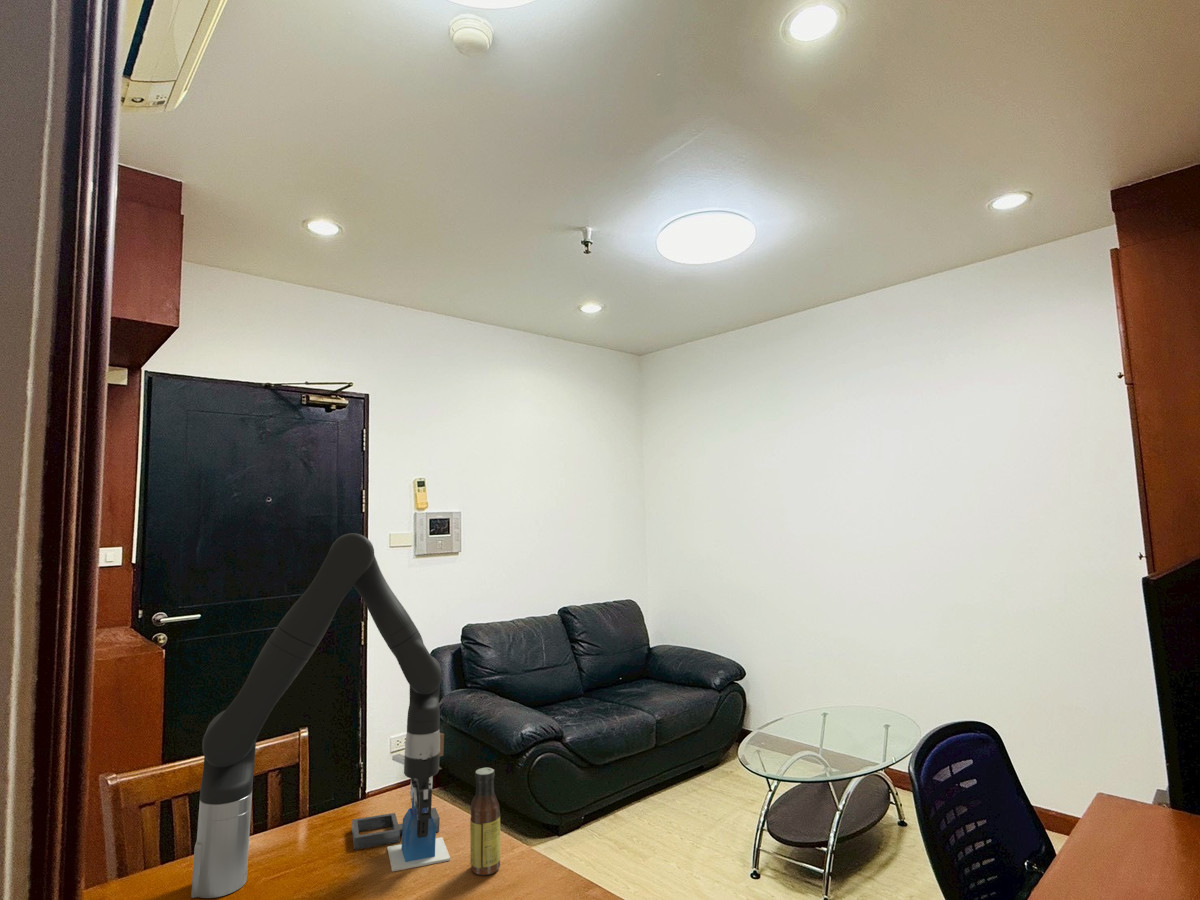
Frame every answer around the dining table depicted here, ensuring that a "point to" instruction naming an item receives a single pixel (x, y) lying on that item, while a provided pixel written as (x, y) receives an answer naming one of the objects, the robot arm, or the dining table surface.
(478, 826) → the sauce bottle
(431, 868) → the dining table surface
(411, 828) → the perfume bottle
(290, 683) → the robot arm
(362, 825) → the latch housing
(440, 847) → the pad
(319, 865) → the dining table surface
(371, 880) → the dining table surface
